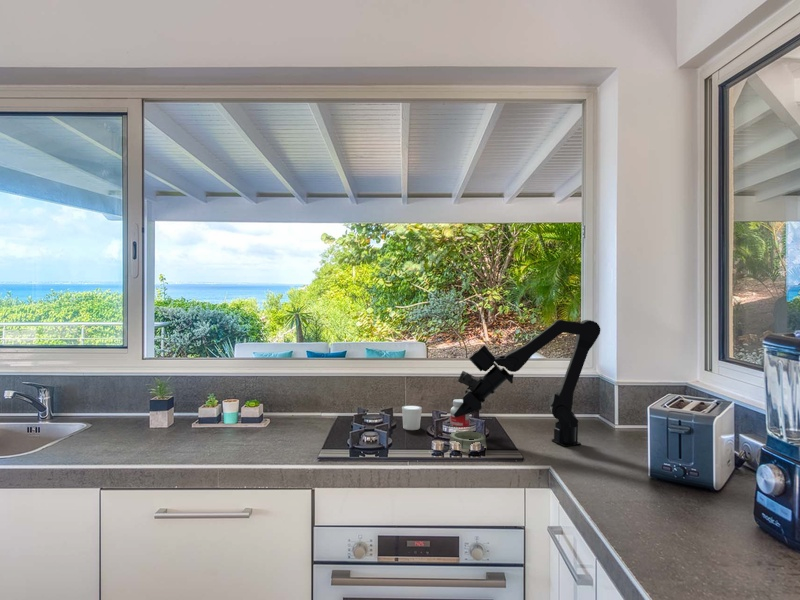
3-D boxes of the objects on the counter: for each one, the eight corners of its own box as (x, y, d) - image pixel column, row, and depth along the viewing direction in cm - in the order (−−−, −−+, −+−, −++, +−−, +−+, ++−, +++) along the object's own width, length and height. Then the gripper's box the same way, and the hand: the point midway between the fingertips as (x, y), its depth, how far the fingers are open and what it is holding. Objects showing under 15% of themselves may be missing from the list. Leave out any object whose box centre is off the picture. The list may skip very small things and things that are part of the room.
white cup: (419, 431, 165) (420, 410, 165) (399, 429, 166) (399, 408, 166) (422, 425, 171) (423, 405, 171) (403, 424, 173) (403, 404, 173)
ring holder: (474, 440, 155) (475, 429, 155) (493, 451, 145) (493, 439, 145) (442, 443, 151) (443, 432, 151) (459, 454, 141) (460, 442, 141)
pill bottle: (446, 434, 161) (447, 400, 161) (456, 430, 166) (457, 397, 166) (462, 438, 157) (463, 403, 157) (472, 434, 162) (473, 400, 162)
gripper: (474, 359, 170) (442, 390, 172) (471, 367, 151) (434, 401, 154) (497, 384, 168) (464, 414, 171) (497, 394, 150) (459, 428, 152)
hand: (455, 413), depth 162 cm, fingers closed on pill bottle, 6 cm apart
